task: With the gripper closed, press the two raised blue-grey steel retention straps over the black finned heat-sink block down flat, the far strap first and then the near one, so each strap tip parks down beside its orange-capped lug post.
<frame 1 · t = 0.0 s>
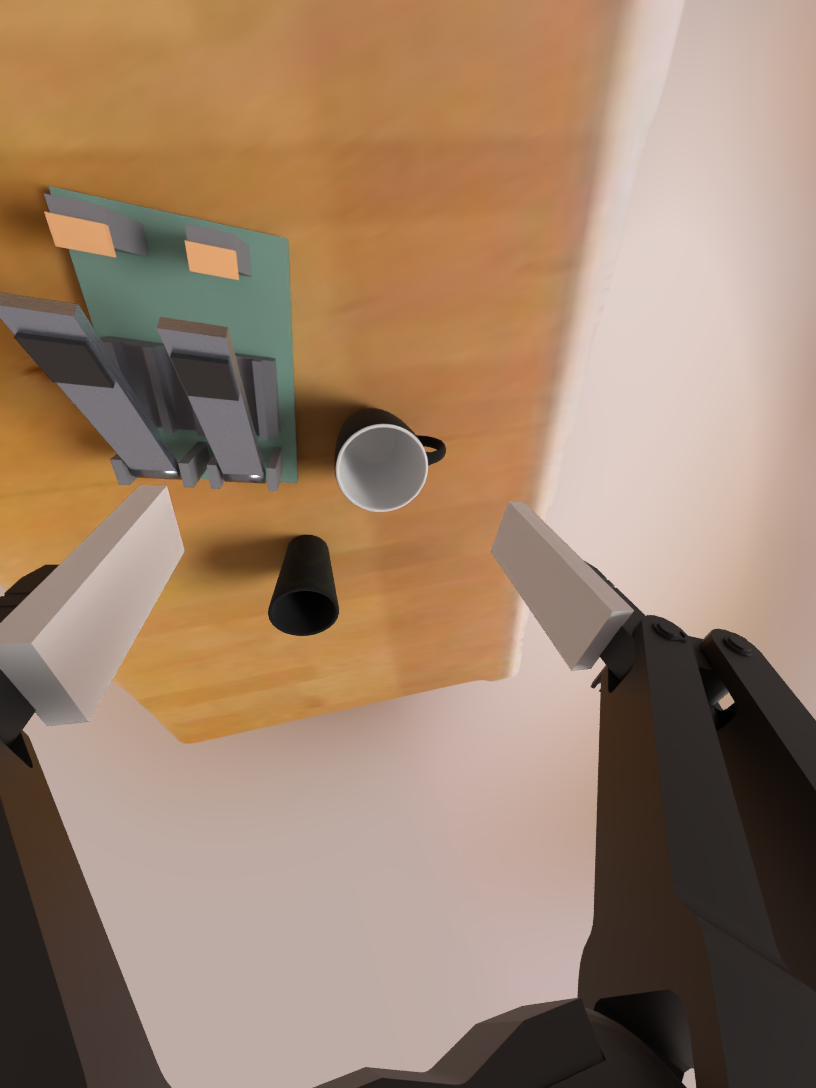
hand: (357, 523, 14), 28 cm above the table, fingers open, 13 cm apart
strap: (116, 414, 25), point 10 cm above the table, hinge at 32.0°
cup: (308, 550, 47), on the table
mug: (383, 436, 40), on the table
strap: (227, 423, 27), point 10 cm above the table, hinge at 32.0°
socket board: (208, 370, 33), on the table
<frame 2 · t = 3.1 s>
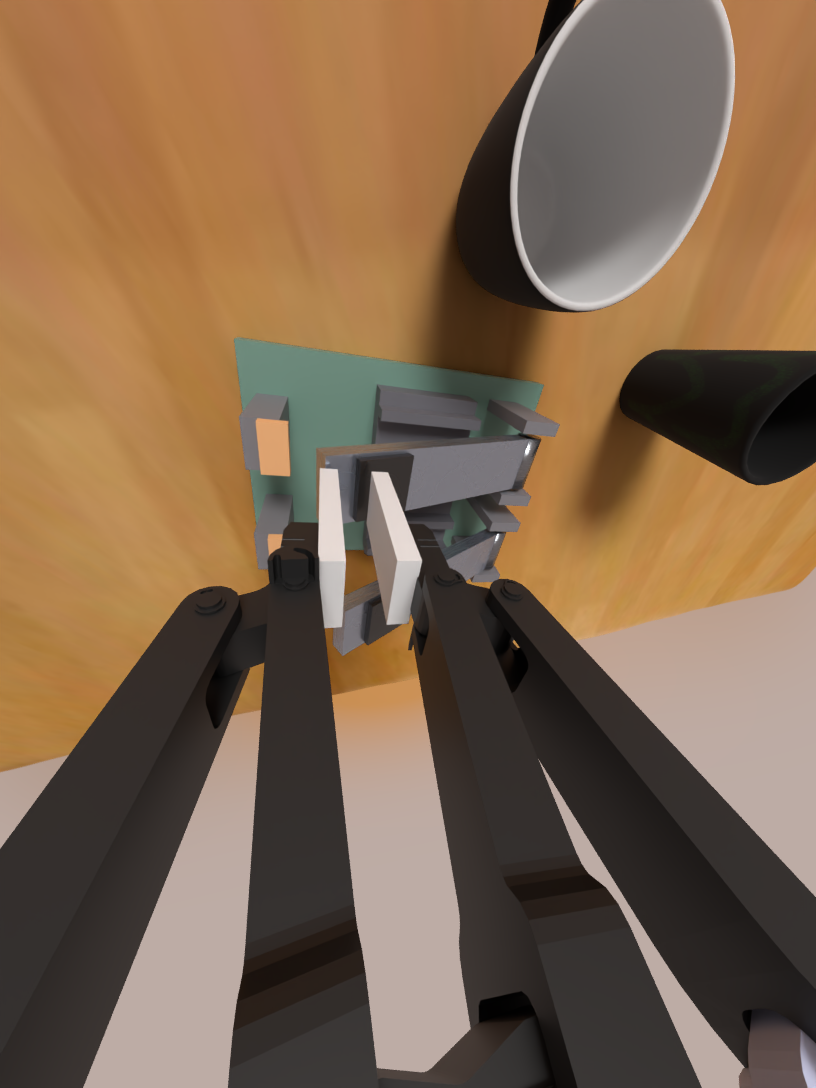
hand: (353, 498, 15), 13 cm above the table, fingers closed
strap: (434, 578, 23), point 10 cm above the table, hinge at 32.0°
cup: (647, 385, 29), on the table
mug: (508, 187, 20), on the table
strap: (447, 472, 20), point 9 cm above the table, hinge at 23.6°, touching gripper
socket board: (390, 466, 29), on the table
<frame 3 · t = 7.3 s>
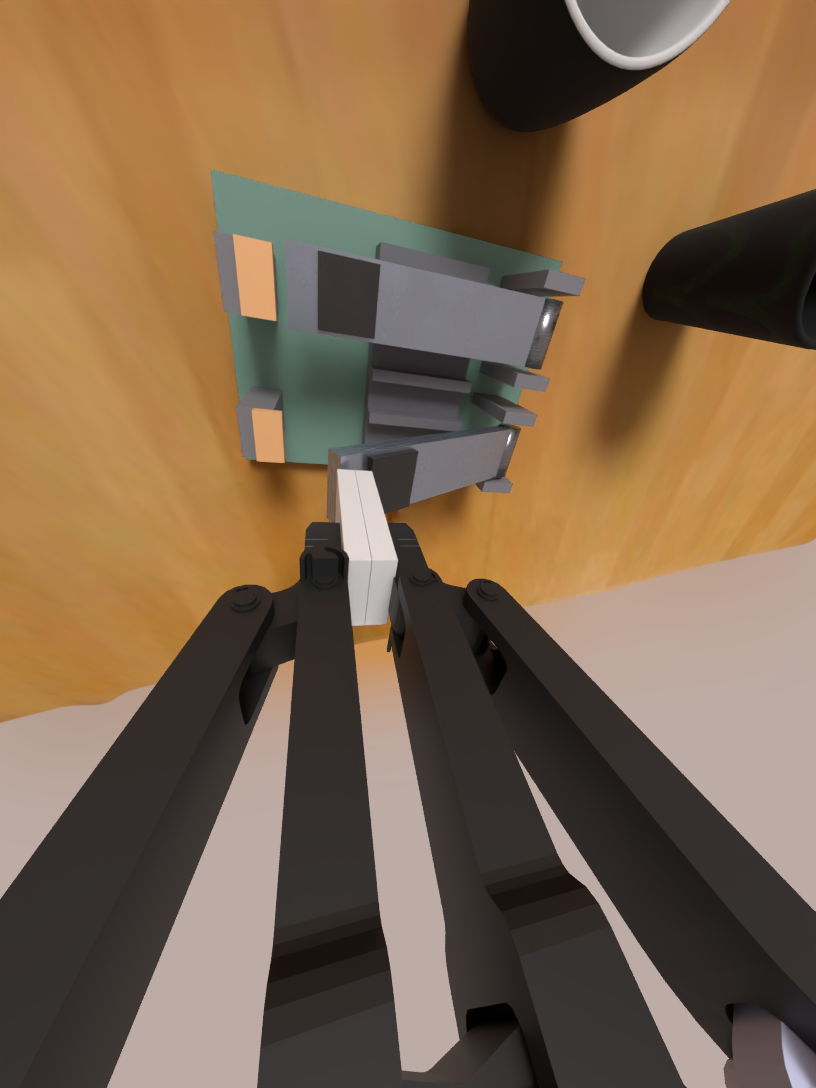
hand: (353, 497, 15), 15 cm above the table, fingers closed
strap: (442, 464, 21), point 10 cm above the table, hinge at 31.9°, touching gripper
cup: (673, 277, 27), on the table
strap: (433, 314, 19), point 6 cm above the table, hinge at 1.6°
socket board: (391, 364, 26), on the table
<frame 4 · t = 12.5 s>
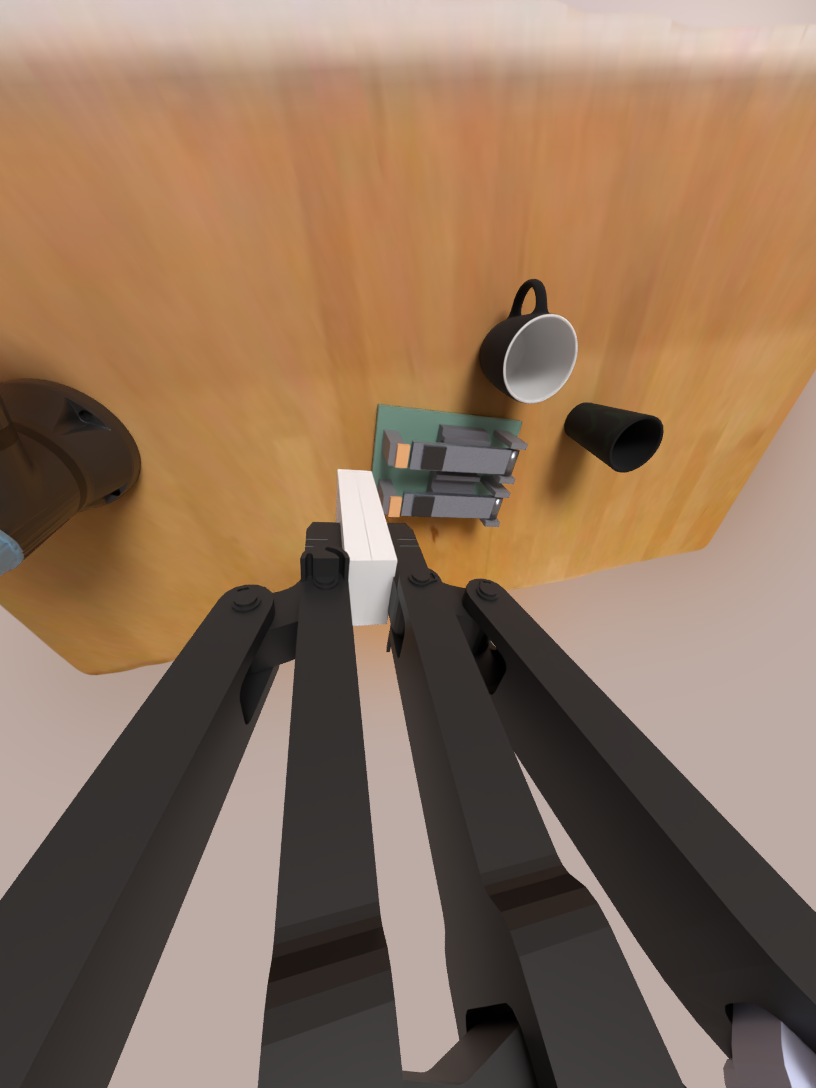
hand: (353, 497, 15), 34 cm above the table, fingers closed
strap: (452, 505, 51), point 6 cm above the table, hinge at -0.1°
cup: (580, 420, 54), on the table
mug: (503, 338, 45), on the table
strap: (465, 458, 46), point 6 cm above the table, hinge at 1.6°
socket board: (441, 464, 53), on the table
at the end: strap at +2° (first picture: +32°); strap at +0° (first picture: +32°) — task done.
